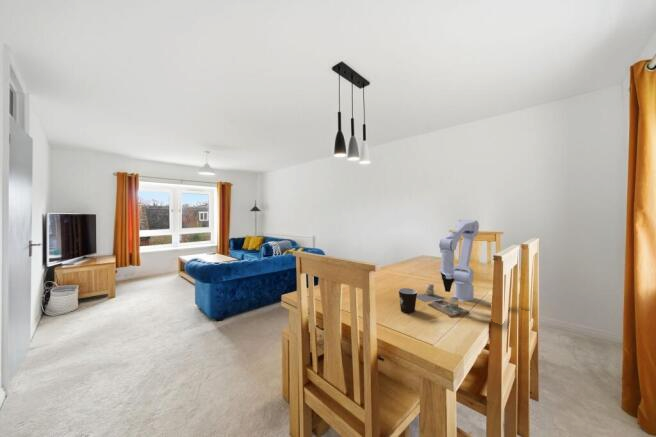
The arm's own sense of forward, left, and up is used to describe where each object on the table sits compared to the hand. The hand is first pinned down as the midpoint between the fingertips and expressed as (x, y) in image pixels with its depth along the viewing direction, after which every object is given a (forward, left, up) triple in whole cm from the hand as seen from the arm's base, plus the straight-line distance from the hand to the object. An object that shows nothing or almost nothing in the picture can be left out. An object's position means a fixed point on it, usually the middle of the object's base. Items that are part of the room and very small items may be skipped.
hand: (446, 289), depth 123 cm
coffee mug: (+21, -5, -10) cm, 23 cm away
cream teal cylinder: (+2, +6, -8) cm, 10 cm away
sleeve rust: (-4, -16, -9) cm, 19 cm away
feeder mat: (-1, -14, -9) cm, 17 cm away
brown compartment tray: (+2, +2, -9) cm, 10 cm away
